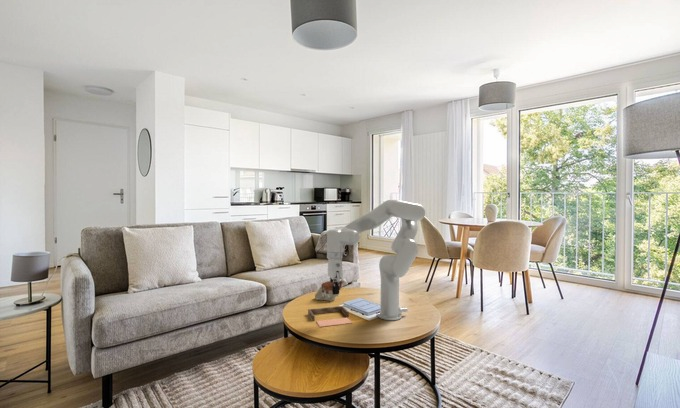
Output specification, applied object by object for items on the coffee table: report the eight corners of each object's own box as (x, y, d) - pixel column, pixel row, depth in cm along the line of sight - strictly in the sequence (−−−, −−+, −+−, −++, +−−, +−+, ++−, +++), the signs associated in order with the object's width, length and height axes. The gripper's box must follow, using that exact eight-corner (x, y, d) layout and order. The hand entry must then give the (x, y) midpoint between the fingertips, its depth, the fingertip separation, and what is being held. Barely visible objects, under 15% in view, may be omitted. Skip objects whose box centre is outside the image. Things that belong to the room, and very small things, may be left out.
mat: (347, 318, 162) (347, 317, 162) (351, 323, 156) (351, 322, 156) (316, 321, 157) (316, 321, 157) (319, 327, 151) (319, 326, 151)
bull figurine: (348, 296, 157) (348, 279, 157) (322, 298, 152) (322, 281, 152) (345, 293, 161) (345, 277, 161) (319, 296, 156) (319, 279, 156)
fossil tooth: (316, 299, 196) (340, 298, 195) (314, 302, 190) (339, 301, 188) (314, 280, 197) (339, 279, 195) (312, 282, 191) (337, 281, 189)
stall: (342, 310, 174) (342, 305, 174) (348, 316, 164) (348, 312, 164) (308, 314, 168) (308, 309, 168) (312, 321, 158) (312, 316, 158)
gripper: (347, 257, 149) (347, 297, 149) (336, 252, 165) (336, 287, 165) (332, 258, 147) (331, 298, 147) (322, 252, 163) (322, 288, 163)
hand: (334, 292), depth 156 cm, fingers closed on bull figurine, 4 cm apart
